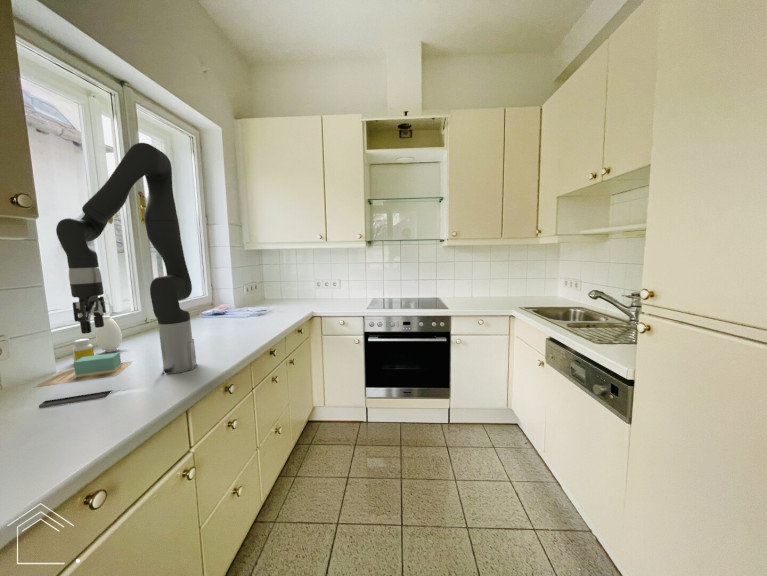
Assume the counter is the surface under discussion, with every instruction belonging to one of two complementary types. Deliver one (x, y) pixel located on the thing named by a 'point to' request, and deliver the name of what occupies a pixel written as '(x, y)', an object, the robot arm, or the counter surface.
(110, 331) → the white vase
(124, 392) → the counter surface
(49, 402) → the rubber mat
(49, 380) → the board
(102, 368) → the block
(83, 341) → the supplement bottle
